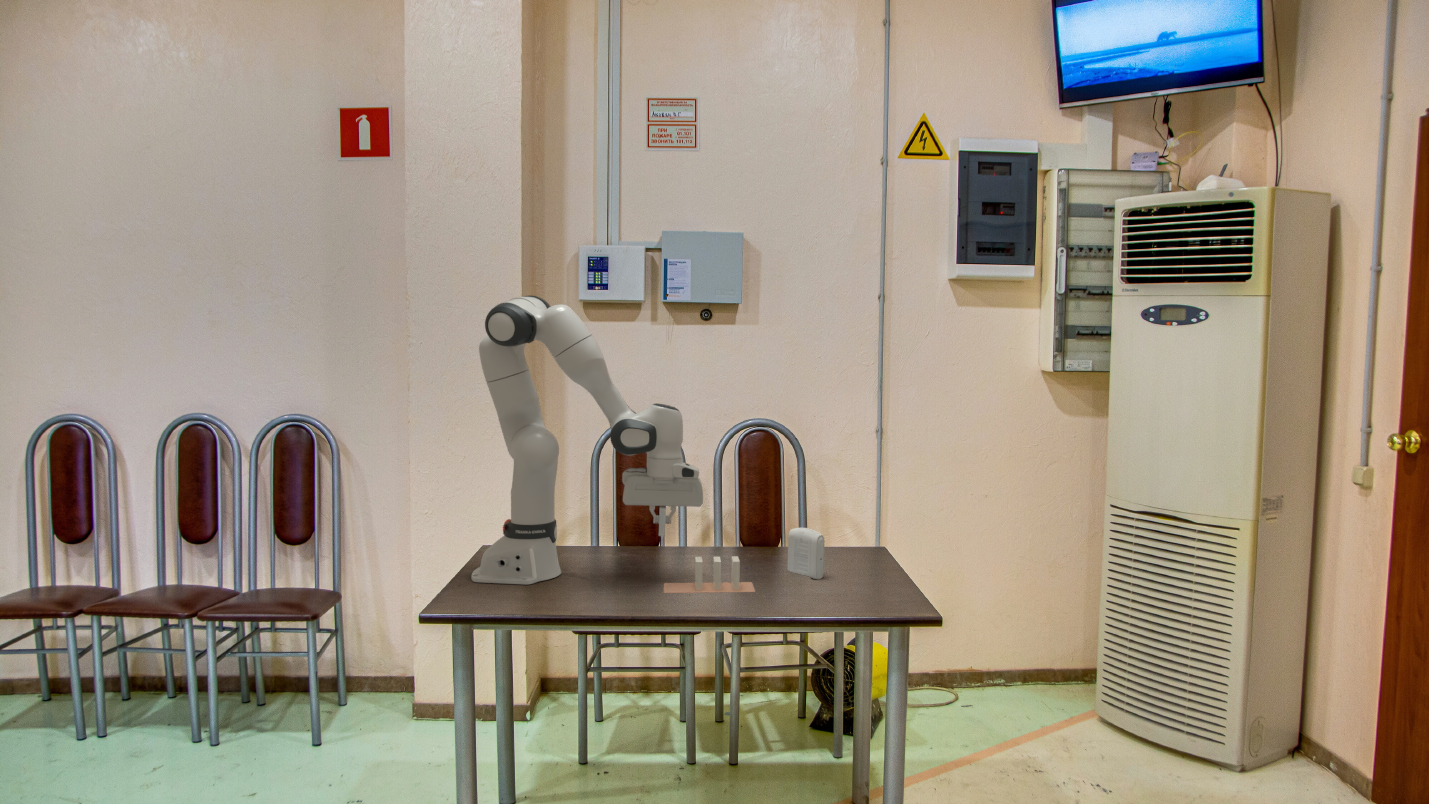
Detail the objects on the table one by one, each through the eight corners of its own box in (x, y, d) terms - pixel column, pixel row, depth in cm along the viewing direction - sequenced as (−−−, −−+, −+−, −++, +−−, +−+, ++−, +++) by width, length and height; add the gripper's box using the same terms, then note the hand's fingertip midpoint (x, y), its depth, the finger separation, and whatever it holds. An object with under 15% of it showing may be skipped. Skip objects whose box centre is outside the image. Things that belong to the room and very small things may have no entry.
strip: (663, 595, 187) (663, 592, 187) (663, 585, 195) (664, 583, 195) (755, 594, 189) (755, 591, 189) (751, 584, 197) (751, 582, 196)
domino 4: (732, 590, 190) (733, 561, 189) (731, 584, 195) (731, 556, 194) (739, 590, 190) (739, 561, 189) (737, 584, 195) (737, 556, 194)
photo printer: (826, 577, 203) (827, 530, 203) (816, 580, 200) (817, 532, 200) (794, 569, 210) (795, 524, 210) (784, 572, 207) (785, 526, 207)
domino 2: (695, 590, 189) (695, 562, 189) (695, 584, 194) (695, 556, 194) (702, 590, 189) (702, 562, 189) (701, 584, 194) (701, 556, 194)
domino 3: (714, 590, 189) (714, 561, 189) (713, 584, 194) (713, 556, 194) (721, 590, 190) (721, 561, 189) (719, 584, 194) (719, 556, 194)
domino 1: (658, 536, 195) (659, 508, 195) (658, 530, 200) (659, 504, 200) (665, 536, 195) (666, 508, 195) (665, 531, 200) (666, 504, 200)
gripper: (621, 469, 193) (620, 524, 194) (704, 471, 194) (702, 526, 195) (623, 465, 199) (621, 519, 200) (703, 468, 201) (701, 521, 201)
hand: (662, 523), depth 197 cm, fingers closed on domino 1, 2 cm apart
